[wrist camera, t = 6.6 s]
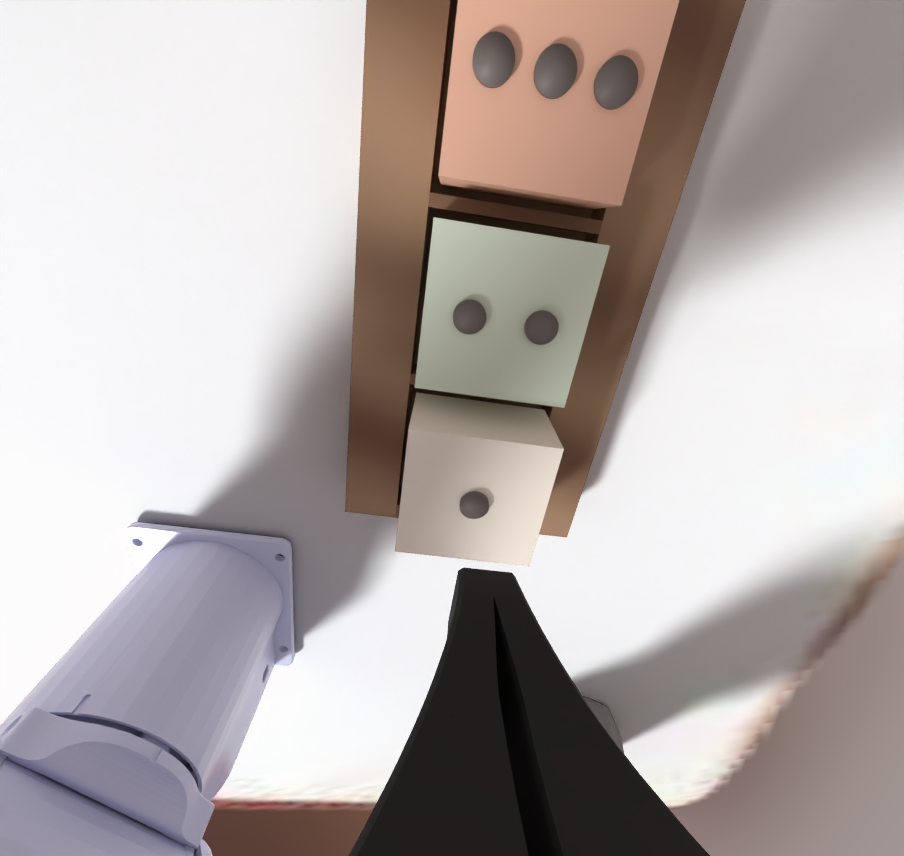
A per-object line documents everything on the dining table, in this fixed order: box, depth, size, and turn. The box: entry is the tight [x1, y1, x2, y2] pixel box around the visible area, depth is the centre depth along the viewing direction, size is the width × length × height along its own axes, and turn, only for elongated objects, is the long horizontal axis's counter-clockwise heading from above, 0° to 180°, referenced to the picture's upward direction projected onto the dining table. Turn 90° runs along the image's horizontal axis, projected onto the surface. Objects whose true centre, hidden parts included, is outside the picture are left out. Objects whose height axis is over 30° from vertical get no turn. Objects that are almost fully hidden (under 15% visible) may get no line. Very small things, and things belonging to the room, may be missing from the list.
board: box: [345, 0, 746, 537], centre depth 16 cm, size 19×10×2 cm, turn 172°
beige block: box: [395, 392, 564, 566], centre depth 16 cm, size 5×5×3 cm
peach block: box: [438, 0, 679, 210], centre depth 11 cm, size 5×5×3 cm
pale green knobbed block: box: [415, 217, 610, 408], centre depth 14 cm, size 5×5×3 cm
